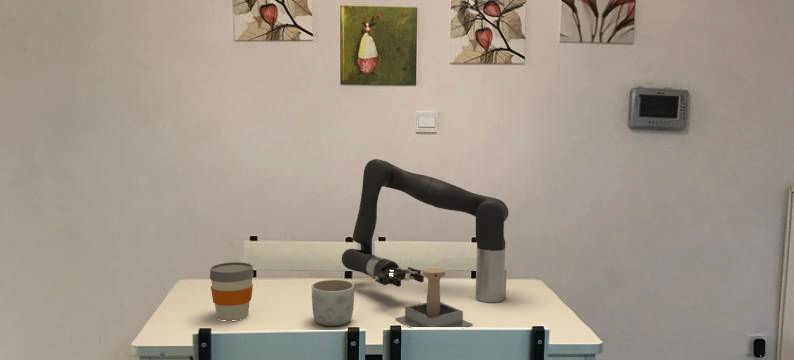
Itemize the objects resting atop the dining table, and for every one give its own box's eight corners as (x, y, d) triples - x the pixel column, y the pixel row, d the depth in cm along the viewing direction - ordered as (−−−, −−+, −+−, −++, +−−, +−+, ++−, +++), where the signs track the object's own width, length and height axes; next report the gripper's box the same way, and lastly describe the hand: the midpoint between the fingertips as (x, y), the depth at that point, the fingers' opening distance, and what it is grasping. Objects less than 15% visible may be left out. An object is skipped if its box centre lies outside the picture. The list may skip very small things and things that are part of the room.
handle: (445, 323, 170) (446, 272, 168) (423, 324, 169) (424, 273, 167) (442, 317, 174) (443, 268, 173) (420, 318, 173) (421, 268, 172)
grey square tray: (437, 310, 183) (438, 297, 182) (472, 325, 170) (472, 312, 169) (395, 320, 174) (395, 306, 173) (428, 337, 160) (428, 322, 160)
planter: (318, 331, 164) (318, 293, 162) (306, 317, 175) (306, 281, 174) (360, 325, 169) (360, 288, 167) (346, 312, 180) (346, 277, 179)
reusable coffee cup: (231, 326, 166) (230, 275, 165) (201, 318, 173) (200, 268, 171) (263, 314, 177) (262, 265, 175) (234, 306, 184) (233, 260, 182)
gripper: (364, 261, 188) (392, 272, 175) (400, 255, 196) (430, 266, 183) (364, 284, 189) (392, 297, 176) (400, 277, 197) (429, 289, 184)
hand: (411, 281), depth 180 cm, fingers open, 8 cm apart
